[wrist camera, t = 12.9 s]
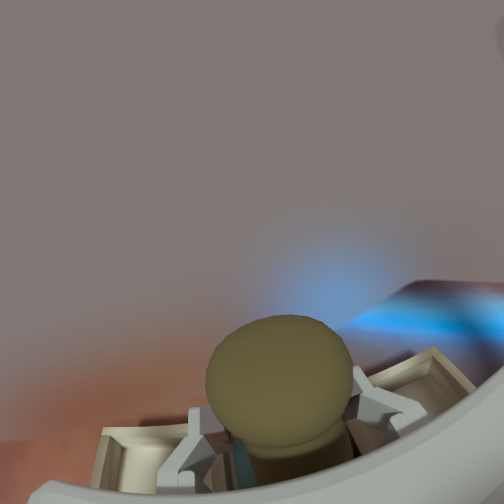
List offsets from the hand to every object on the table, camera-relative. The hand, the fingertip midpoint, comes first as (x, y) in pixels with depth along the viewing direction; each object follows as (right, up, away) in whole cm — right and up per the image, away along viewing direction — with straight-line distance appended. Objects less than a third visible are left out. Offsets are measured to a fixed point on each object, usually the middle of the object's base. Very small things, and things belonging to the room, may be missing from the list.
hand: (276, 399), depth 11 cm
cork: (+2, -7, +2) cm, 7 cm away
